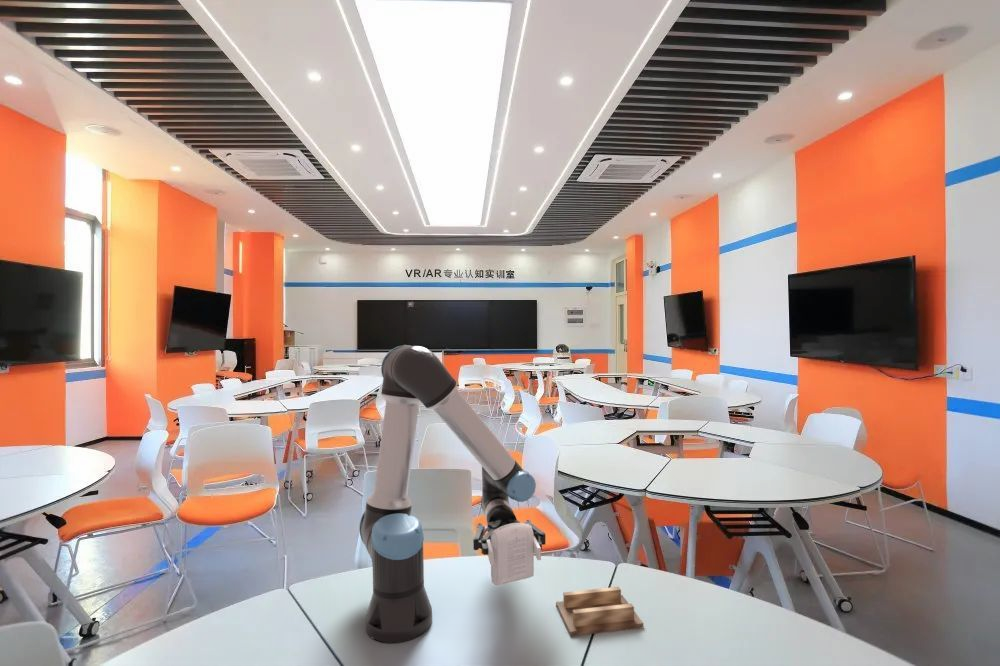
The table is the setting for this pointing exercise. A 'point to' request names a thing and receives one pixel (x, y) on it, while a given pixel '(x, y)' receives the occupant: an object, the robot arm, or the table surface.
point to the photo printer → (512, 553)
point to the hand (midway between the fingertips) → (515, 556)
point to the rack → (597, 611)
